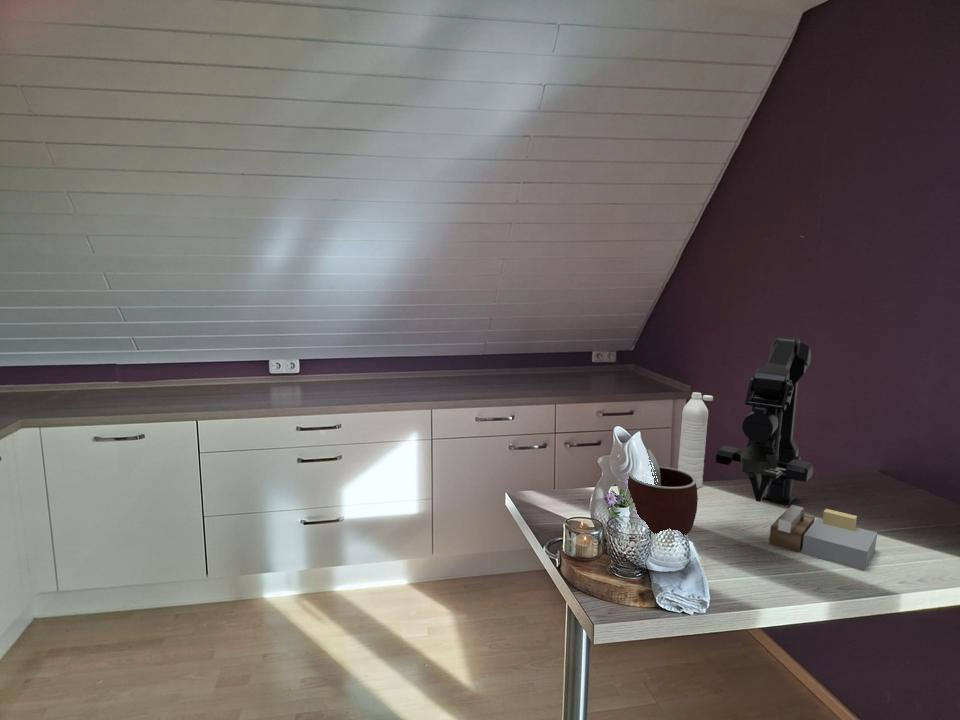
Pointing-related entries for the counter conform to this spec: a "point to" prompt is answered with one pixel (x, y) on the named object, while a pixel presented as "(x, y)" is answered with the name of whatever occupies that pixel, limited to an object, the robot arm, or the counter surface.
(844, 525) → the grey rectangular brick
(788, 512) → the bar
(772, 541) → the jamb block
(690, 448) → the water bottle
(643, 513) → the mate gourd
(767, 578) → the counter surface
